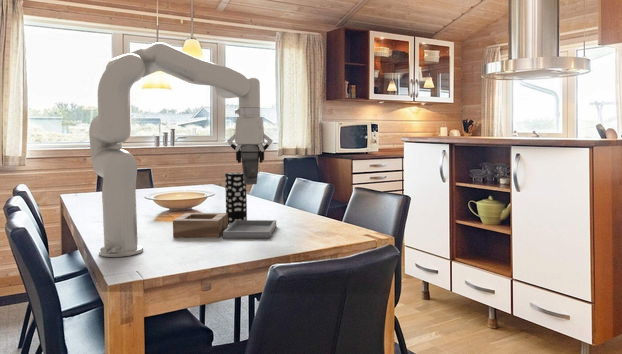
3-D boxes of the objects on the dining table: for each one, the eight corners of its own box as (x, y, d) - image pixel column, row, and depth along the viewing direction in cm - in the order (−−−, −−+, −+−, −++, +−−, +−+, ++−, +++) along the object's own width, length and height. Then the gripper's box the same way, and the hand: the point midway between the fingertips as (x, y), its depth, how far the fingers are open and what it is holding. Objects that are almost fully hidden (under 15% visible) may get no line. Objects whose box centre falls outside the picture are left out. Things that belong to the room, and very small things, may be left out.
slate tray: (269, 239, 170) (269, 231, 170) (223, 238, 171) (223, 231, 170) (276, 226, 192) (276, 220, 192) (235, 226, 193) (235, 220, 192)
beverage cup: (257, 185, 175) (256, 128, 174) (237, 184, 177) (236, 128, 175) (263, 183, 183) (262, 128, 181) (244, 182, 184) (243, 128, 182)
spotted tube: (221, 223, 199) (220, 173, 197) (234, 220, 206) (233, 172, 204) (238, 225, 195) (237, 174, 193) (251, 221, 202) (250, 173, 200)
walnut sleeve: (218, 237, 173) (218, 220, 172) (173, 237, 173) (172, 220, 173) (228, 228, 189) (227, 212, 188) (186, 228, 189) (185, 212, 189)
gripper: (223, 112, 174) (224, 163, 176) (272, 112, 173) (273, 163, 175) (227, 113, 181) (228, 162, 183) (275, 113, 181) (275, 162, 182)
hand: (250, 162), depth 179 cm, fingers closed on beverage cup, 7 cm apart
